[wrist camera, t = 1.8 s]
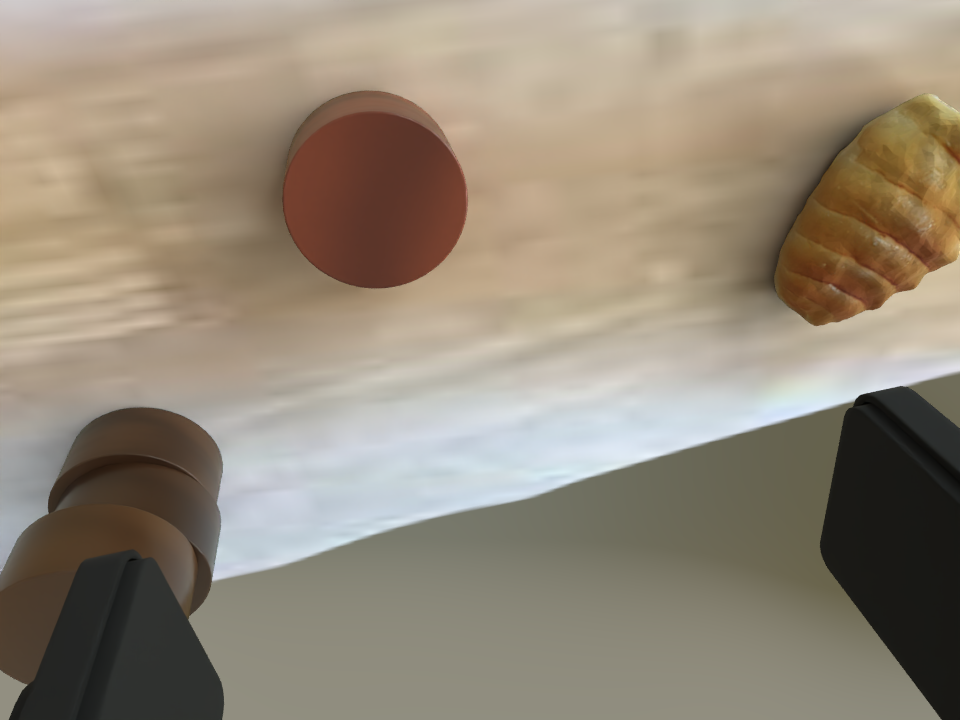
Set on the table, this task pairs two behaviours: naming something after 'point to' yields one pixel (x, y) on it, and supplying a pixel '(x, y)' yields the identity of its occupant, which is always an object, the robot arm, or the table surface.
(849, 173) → the pastry
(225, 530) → the table surface
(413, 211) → the reddish-brown squat cylinder
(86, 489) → the stacked discs
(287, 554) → the table surface
